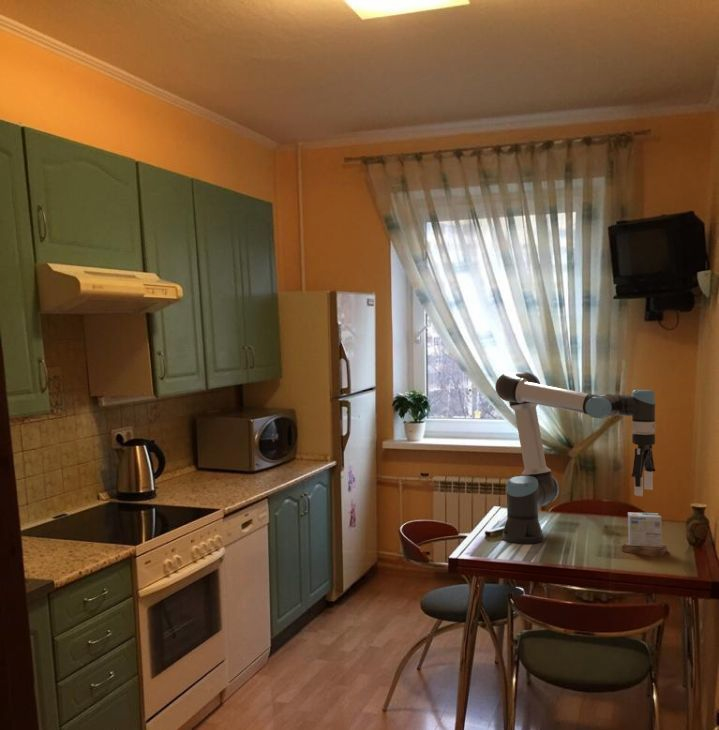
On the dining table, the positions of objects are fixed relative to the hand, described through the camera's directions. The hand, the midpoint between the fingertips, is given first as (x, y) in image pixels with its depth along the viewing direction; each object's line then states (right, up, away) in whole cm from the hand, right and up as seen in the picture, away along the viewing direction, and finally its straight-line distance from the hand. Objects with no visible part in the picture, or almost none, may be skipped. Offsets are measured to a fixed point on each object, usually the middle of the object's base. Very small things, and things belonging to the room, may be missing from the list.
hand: (643, 492), depth 236 cm
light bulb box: (0, -19, 0) cm, 19 cm away
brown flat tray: (0, -21, 0) cm, 21 cm away
